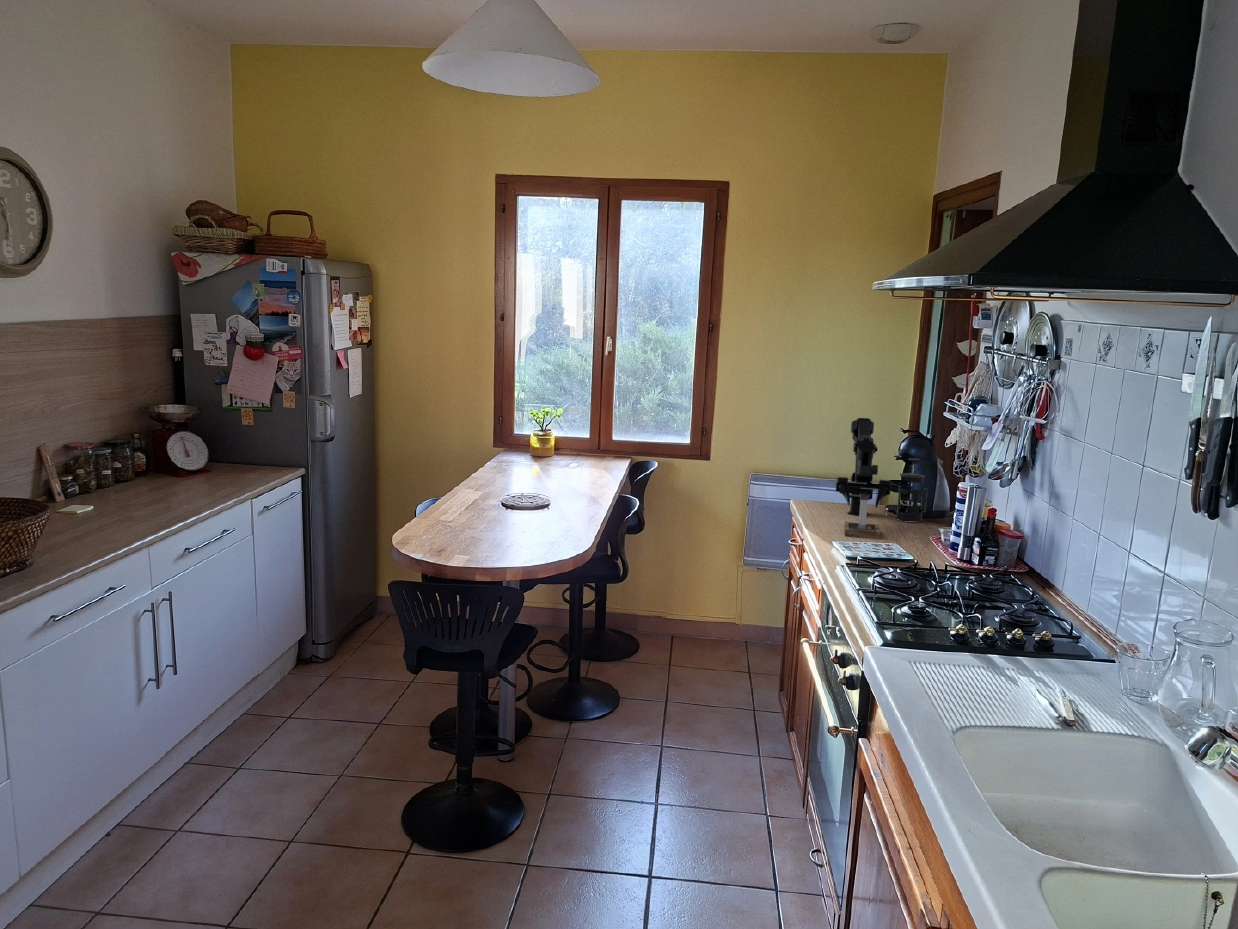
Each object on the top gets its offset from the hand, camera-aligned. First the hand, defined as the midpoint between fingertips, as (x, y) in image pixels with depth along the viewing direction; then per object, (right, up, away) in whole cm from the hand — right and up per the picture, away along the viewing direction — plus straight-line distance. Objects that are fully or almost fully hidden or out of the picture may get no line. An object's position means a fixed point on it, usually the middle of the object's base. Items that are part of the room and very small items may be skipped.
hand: (862, 505), depth 303 cm
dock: (-2, -9, -4) cm, 10 cm away
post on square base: (-2, -9, -4) cm, 10 cm away
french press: (+23, -6, +20) cm, 32 cm away
